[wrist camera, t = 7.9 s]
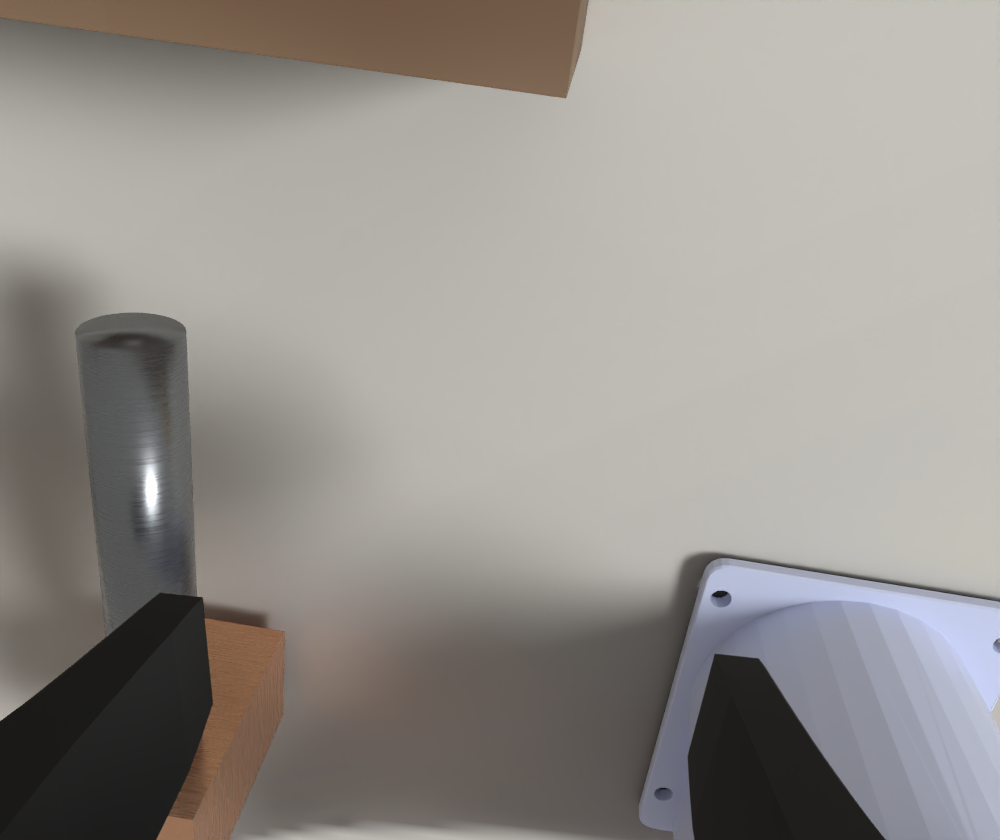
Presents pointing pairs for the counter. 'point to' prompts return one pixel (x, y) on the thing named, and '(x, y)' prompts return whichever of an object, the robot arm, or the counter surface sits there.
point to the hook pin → (170, 551)
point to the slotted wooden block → (357, 33)
